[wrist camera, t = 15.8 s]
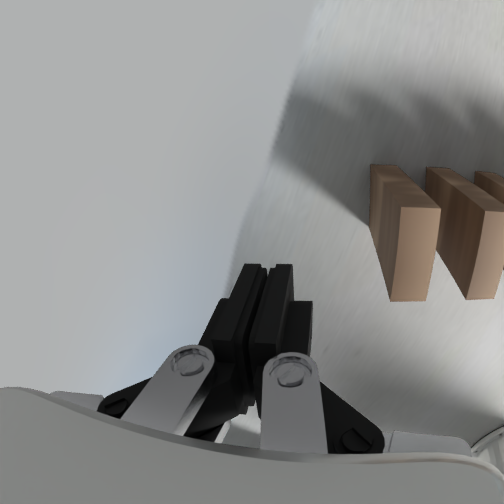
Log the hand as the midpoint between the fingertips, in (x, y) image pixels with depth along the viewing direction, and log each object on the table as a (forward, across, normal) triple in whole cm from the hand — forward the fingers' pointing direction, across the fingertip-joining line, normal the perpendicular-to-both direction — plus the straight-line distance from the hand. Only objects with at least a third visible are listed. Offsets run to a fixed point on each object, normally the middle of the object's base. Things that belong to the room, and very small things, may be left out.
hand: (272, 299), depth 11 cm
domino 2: (+14, -11, 0) cm, 18 cm away
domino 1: (+14, -6, +1) cm, 15 cm away
